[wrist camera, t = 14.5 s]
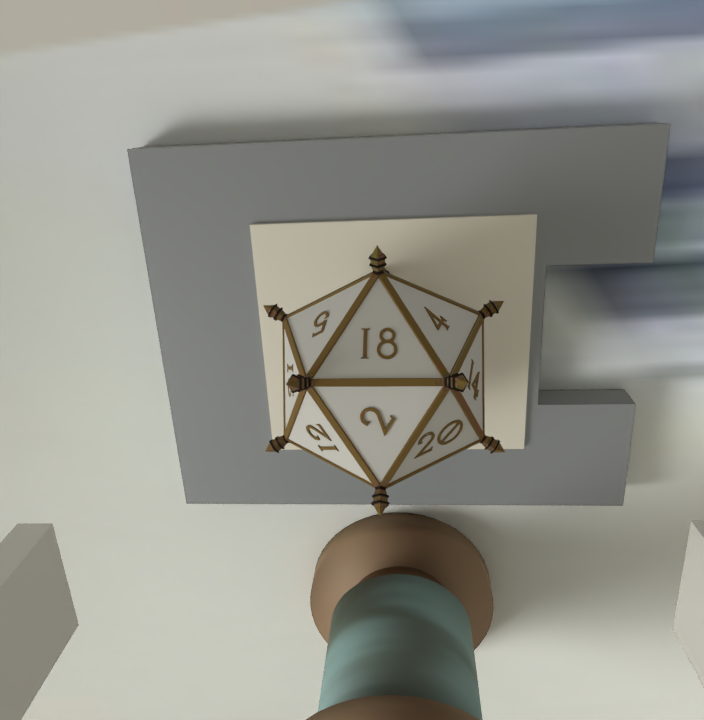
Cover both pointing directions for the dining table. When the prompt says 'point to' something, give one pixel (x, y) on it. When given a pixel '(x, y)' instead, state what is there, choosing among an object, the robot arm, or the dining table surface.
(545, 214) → the notched board
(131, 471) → the dining table surface
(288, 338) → the game die
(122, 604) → the dining table surface
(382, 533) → the bobbin
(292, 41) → the dining table surface
